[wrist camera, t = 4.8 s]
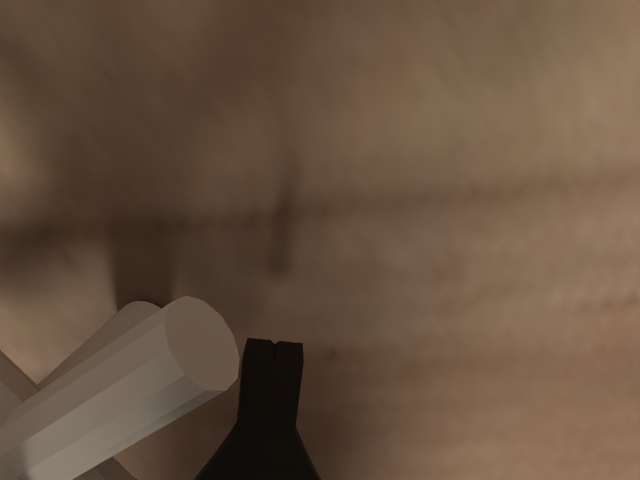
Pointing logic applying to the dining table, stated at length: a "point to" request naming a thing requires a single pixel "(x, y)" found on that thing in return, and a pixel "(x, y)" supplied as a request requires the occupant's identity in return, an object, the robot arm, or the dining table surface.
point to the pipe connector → (113, 391)
